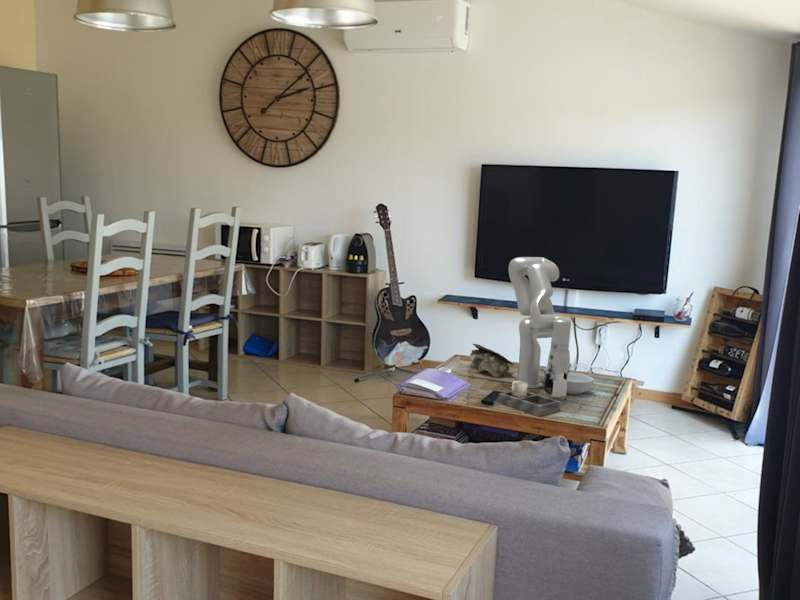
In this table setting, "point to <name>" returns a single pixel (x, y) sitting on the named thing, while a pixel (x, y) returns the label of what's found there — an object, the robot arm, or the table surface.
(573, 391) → the cereal bowl
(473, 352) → the hollow geode rock
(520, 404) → the rail rack
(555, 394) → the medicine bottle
